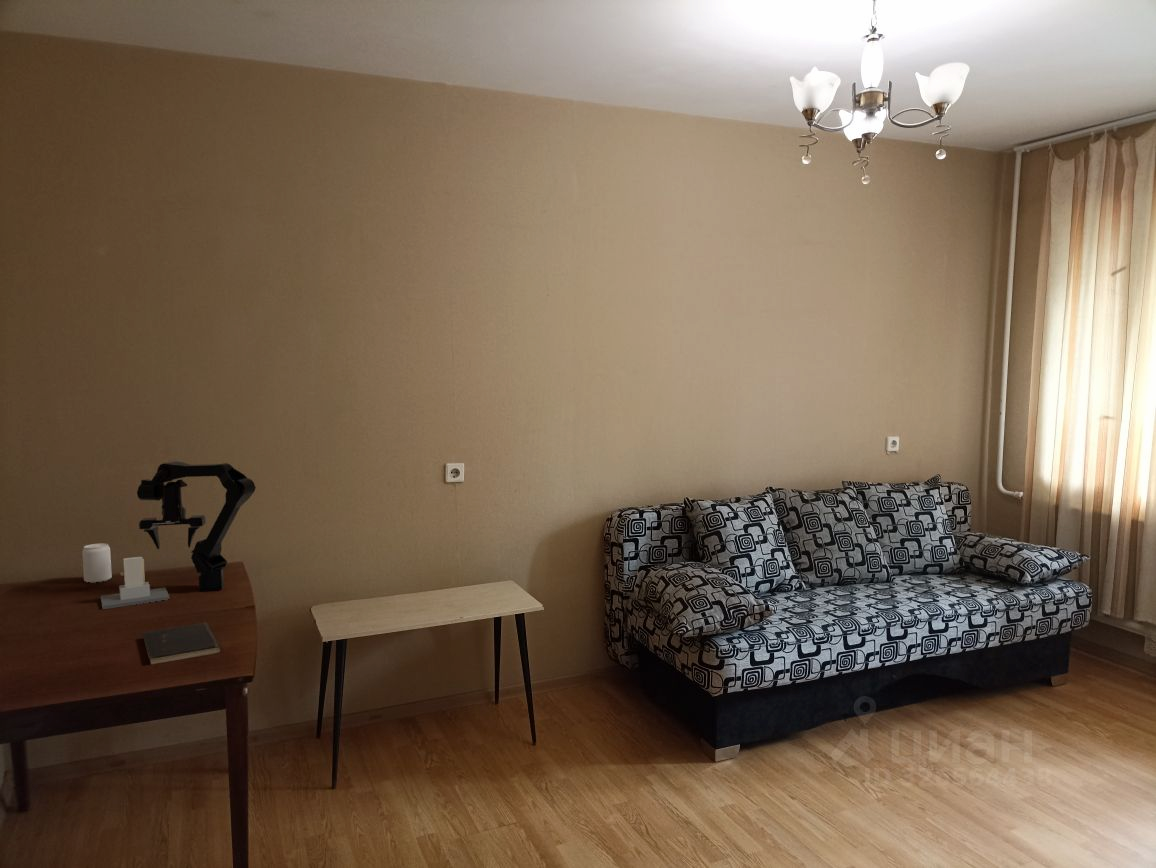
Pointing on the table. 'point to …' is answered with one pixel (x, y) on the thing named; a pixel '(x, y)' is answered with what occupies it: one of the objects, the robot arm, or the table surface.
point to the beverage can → (96, 563)
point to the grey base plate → (134, 596)
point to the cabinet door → (133, 572)
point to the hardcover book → (180, 643)
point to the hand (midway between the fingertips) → (174, 548)
